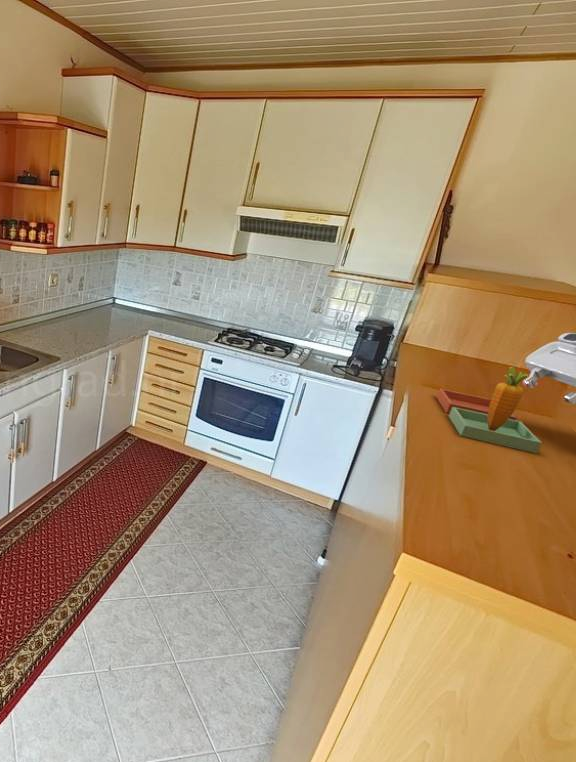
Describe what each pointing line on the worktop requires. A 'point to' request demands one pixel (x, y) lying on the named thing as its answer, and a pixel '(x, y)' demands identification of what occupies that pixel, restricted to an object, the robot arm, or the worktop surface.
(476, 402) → the terracotta tray
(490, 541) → the worktop surface
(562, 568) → the worktop surface
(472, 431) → the green tray
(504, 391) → the carrot
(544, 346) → the robot arm
